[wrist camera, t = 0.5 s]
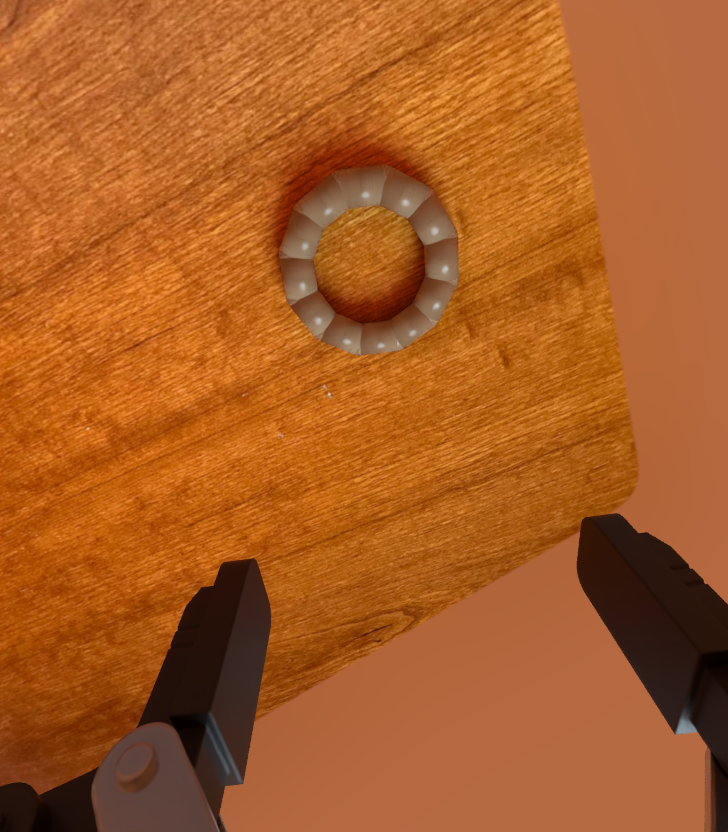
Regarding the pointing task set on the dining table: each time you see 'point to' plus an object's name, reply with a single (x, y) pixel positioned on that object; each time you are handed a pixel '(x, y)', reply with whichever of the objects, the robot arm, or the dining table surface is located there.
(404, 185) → the beige segmented ring
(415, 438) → the dining table surface
